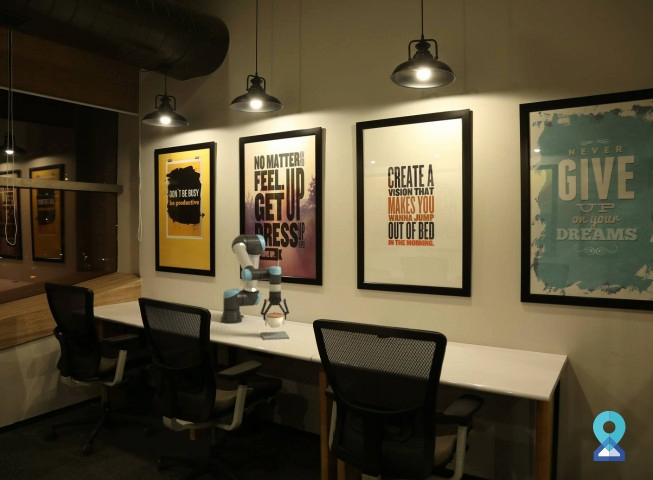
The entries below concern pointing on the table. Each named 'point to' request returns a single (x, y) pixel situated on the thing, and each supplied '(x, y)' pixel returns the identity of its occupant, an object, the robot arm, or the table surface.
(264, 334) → the slate mat
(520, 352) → the table surface
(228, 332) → the table surface
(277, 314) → the lidded jar
